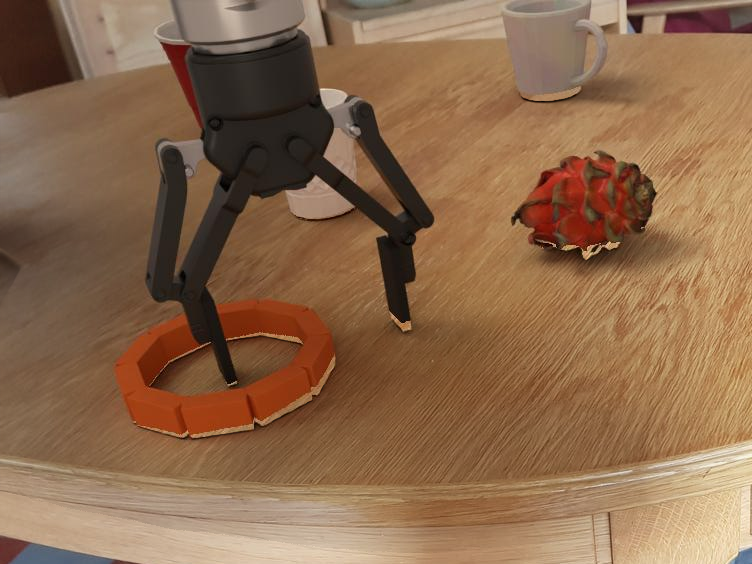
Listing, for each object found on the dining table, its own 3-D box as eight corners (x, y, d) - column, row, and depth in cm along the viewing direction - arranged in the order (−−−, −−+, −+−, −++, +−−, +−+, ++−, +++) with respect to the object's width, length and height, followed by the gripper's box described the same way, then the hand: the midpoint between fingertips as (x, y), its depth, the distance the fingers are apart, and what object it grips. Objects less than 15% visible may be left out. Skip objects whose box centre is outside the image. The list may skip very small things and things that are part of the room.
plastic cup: (210, 149, 110) (180, 39, 103) (166, 133, 117) (136, 28, 109) (288, 123, 115) (265, 16, 108) (242, 109, 122) (217, 8, 115)
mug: (553, 75, 121) (549, -11, 115) (638, 95, 111) (639, 1, 105) (490, 97, 116) (482, 7, 110) (573, 119, 106) (570, 22, 100)
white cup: (275, 224, 90) (249, 117, 84) (298, 193, 96) (276, 90, 90) (354, 221, 88) (334, 112, 82) (374, 189, 95) (356, 85, 88)
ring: (88, 389, 68) (77, 360, 67) (264, 308, 76) (256, 281, 74) (189, 467, 59) (178, 435, 58) (376, 366, 67) (371, 336, 66)
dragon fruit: (668, 262, 79) (528, 296, 80) (645, 175, 82) (509, 210, 83) (671, 207, 71) (515, 247, 72) (645, 113, 73) (495, 153, 75)
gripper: (36, 94, 50) (158, 427, 63) (458, 6, 57) (490, 321, 70) (25, 67, 56) (140, 378, 69) (411, -10, 63) (449, 285, 76)
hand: (317, 350), depth 69 cm, fingers open, 13 cm apart
